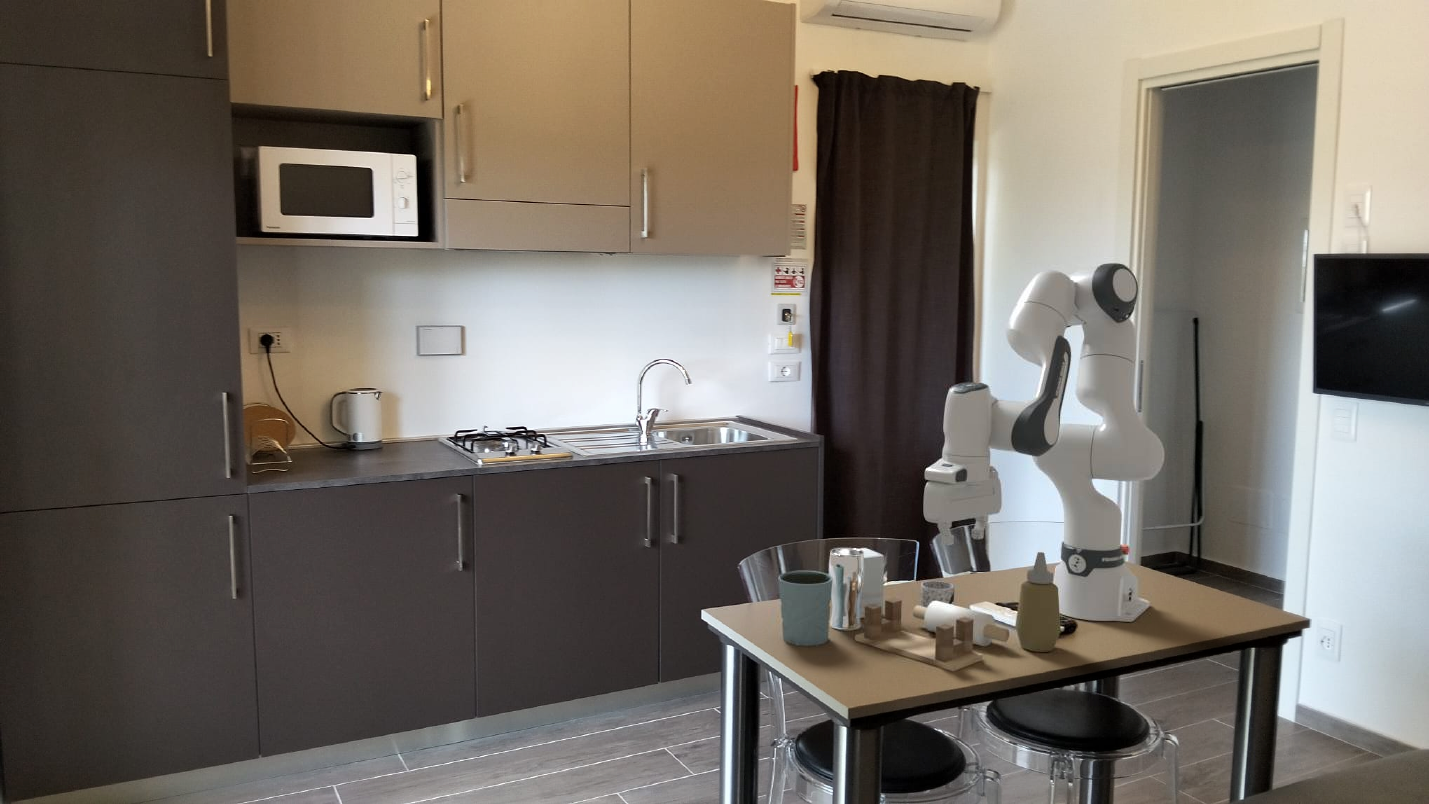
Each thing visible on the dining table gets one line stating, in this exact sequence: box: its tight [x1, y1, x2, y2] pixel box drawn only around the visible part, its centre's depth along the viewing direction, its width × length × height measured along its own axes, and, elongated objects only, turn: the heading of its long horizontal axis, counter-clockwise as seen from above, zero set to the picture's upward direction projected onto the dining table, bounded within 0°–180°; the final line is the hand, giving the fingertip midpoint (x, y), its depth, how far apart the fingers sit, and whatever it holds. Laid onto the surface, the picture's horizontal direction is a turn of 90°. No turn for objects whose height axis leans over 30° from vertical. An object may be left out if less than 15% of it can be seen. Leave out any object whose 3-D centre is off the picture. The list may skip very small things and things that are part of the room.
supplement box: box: [858, 547, 885, 619], centre depth 216 cm, size 7×7×13 cm
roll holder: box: [854, 597, 983, 672], centre depth 194 cm, size 22×9×7 cm, turn 43°
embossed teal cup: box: [777, 570, 833, 647], centre depth 199 cm, size 10×10×12 cm
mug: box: [919, 580, 955, 608], centre depth 216 cm, size 10×7×7 cm
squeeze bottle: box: [1015, 551, 1062, 653], centre depth 195 cm, size 8×8×18 cm
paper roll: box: [912, 601, 1010, 647], centre depth 201 cm, size 20×6×6 cm, turn 43°
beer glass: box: [828, 547, 865, 632], centre depth 207 cm, size 7×7×15 cm
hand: (962, 541), depth 199 cm, fingers open, 8 cm apart
